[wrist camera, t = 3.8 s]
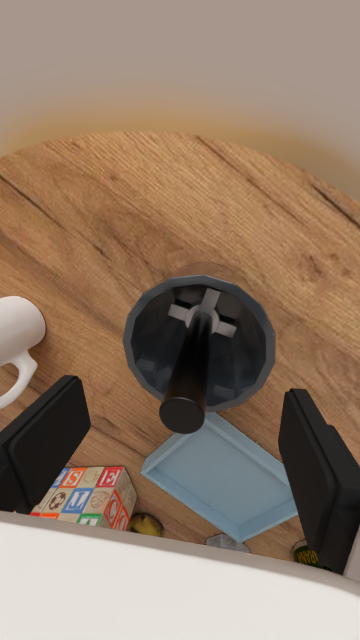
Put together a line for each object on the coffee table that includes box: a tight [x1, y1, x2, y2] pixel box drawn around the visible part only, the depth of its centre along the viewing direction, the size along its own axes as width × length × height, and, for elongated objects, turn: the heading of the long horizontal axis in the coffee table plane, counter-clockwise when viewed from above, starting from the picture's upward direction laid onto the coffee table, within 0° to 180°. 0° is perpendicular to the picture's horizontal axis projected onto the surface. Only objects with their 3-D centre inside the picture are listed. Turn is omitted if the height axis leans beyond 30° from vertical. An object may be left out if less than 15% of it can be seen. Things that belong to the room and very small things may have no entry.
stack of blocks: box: [13, 466, 137, 531], centre depth 30 cm, size 21×6×12 cm, turn 105°
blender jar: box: [123, 262, 276, 412], centre depth 19 cm, size 10×10×8 cm
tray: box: [140, 412, 298, 543], centre depth 29 cm, size 17×13×2 cm
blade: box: [159, 287, 237, 434], centre depth 16 cm, size 6×6×13 cm
